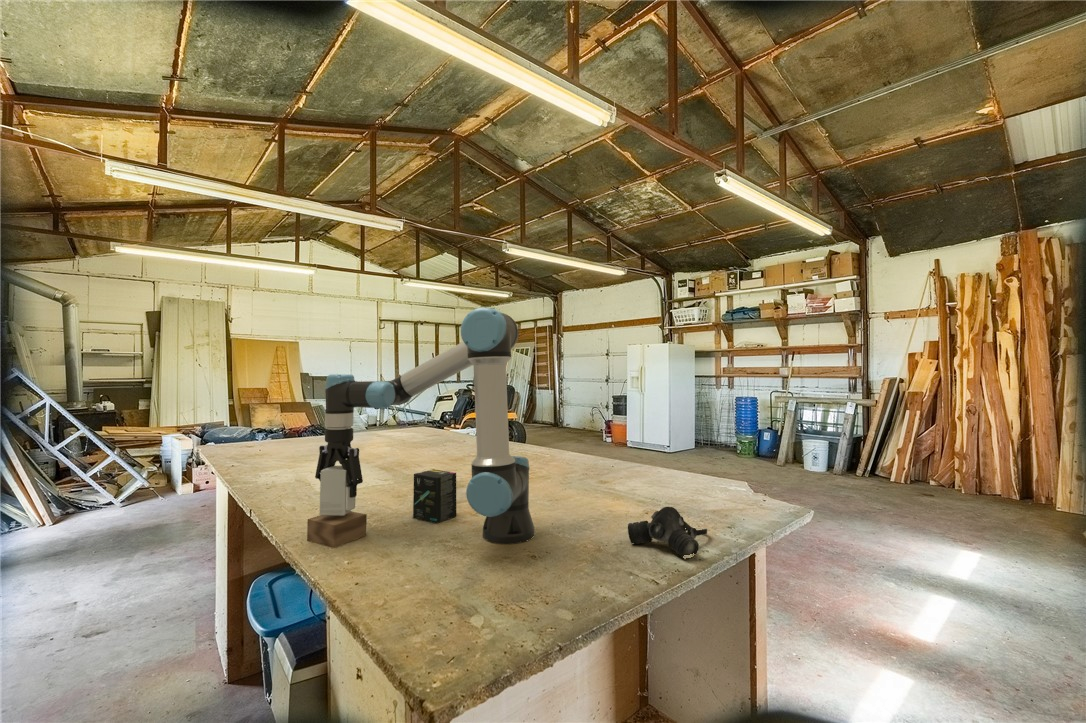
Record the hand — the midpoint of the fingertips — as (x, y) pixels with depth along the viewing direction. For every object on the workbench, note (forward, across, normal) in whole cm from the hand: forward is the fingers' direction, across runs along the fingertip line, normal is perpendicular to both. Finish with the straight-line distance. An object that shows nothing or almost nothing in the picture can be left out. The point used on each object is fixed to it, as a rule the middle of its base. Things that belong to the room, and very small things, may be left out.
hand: (338, 506), depth 133 cm
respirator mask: (+10, -86, -43) cm, 97 cm away
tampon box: (+9, -12, -28) cm, 32 cm away
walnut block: (+9, 0, 0) cm, 9 cm away
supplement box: (+2, 0, 0) cm, 2 cm away
